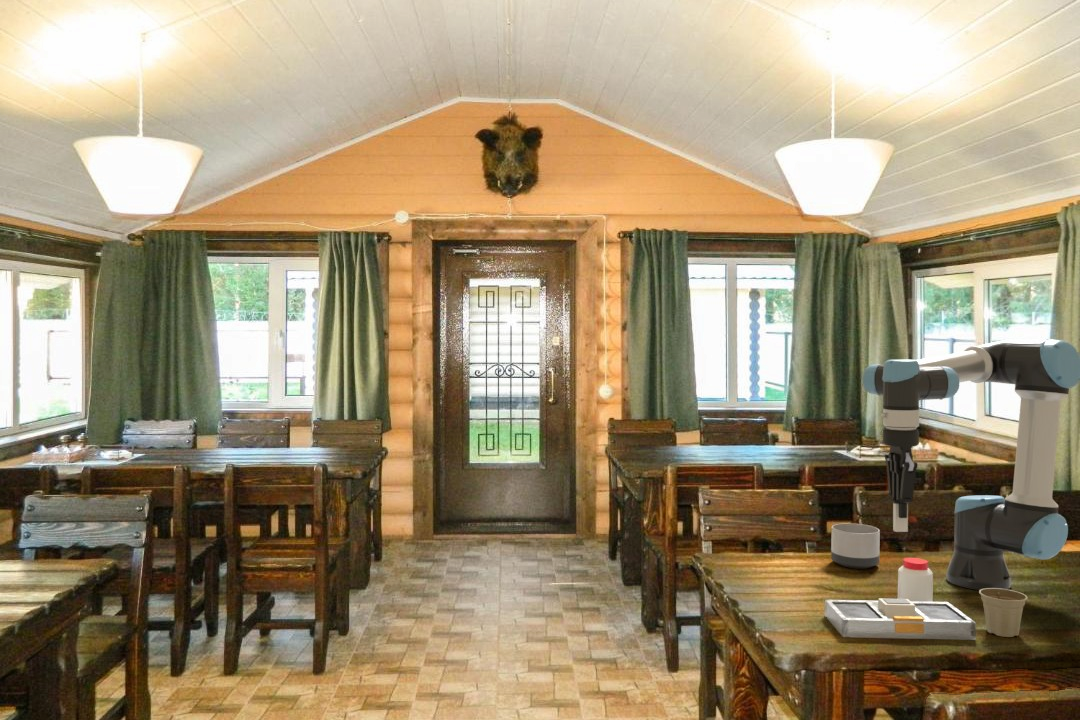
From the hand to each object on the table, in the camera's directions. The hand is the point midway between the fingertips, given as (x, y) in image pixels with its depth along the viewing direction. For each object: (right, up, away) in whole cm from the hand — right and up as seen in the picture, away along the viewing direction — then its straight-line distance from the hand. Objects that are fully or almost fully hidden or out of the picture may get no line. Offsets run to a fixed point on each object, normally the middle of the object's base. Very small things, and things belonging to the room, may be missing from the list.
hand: (900, 530), depth 193 cm
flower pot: (+20, -22, -6) cm, 30 cm away
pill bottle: (+9, -21, +13) cm, 26 cm away
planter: (+8, -20, +49) cm, 53 cm away
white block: (-2, -20, -3) cm, 21 cm away
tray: (-2, -21, -3) cm, 21 cm away
